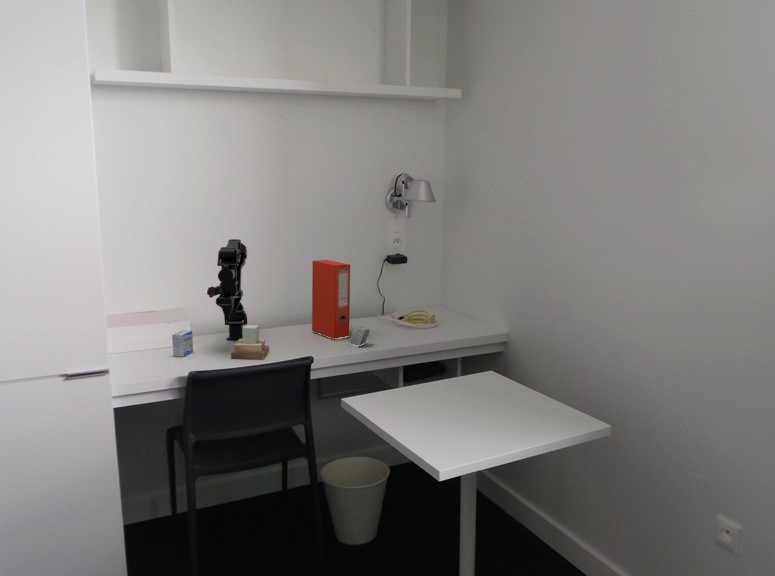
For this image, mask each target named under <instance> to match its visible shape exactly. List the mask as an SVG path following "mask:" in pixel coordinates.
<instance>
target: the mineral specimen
mask: <svg viewBox="0 0 775 576" xmlns="http://www.w3.org/2000/svg"><path fill="white" fill-rule="evenodd" d="M370 331H371V329H370V328H367V327H363V326H355V328H354V329H353V330H352V332H351V334H350V336H349V342H348V344H349V343H351V344H355V345H361V344H363V343H365V344H366V342H367V339H368V337H369V335H370V334H369V333H370Z"/></svg>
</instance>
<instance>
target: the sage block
mask: <svg viewBox="0 0 775 576" xmlns="http://www.w3.org/2000/svg"><path fill="white" fill-rule="evenodd" d="M259 339H260V326H259V325H256V324H255V325H254V324H246V325H243V343H250V344H256V343H257V342H258V341H259Z"/></svg>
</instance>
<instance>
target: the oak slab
mask: <svg viewBox="0 0 775 576" xmlns="http://www.w3.org/2000/svg"><path fill="white" fill-rule="evenodd" d="M233 346H234V349H233V351H234V353H261V352H262V351H263V349H264V348H265V346H266V338H259V341H258V342H257V343H256V344H250V343H243V339H239V340H236V342H235V343H234V345H233Z"/></svg>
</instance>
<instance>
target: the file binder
mask: <svg viewBox="0 0 775 576" xmlns="http://www.w3.org/2000/svg"><path fill="white" fill-rule="evenodd" d="M311 267H312V276H311V278H312V281H311V282H312V283H311V285H312V287H311V288H312V289H311V291H312V293H311V294H312V295H311V296H312V297H311V300H312V301H311V332H312V331H314V332H317V333H320V334H322V335H325V336H328V337H331V338H334V339H335V338H339V337H345V336H349V337H350V308H351V307H350V303H351V302H350V301H351V298H350V297H351V288H350V287H351V264H349V263H345V262H339V261H335V260H329V259H321V260H320V259H319V260H312V265H311ZM322 335H321V336H322ZM325 336H324V337H325Z"/></svg>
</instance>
